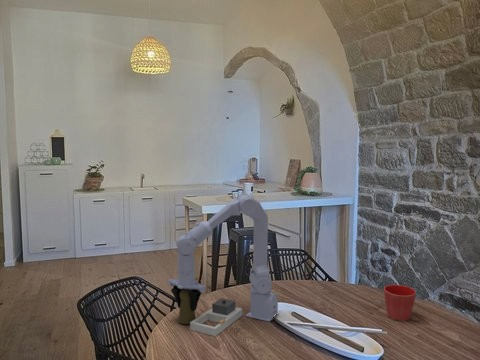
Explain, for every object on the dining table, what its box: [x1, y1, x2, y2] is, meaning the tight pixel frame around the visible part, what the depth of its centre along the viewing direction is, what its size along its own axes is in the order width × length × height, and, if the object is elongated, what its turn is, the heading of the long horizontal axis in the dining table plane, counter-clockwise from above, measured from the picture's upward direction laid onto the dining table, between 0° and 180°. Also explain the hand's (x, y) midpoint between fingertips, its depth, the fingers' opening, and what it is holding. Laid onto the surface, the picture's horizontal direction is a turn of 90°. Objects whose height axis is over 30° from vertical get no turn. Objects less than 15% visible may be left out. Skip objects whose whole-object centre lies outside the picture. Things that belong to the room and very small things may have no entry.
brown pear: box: [178, 288, 197, 325], centre depth 143 cm, size 6×6×11 cm
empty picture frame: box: [189, 297, 243, 337], centre depth 143 cm, size 10×18×6 cm, turn 151°
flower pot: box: [383, 284, 417, 322], centre depth 146 cm, size 11×11×10 cm
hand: (187, 308), depth 143 cm, fingers closed on brown pear, 5 cm apart
